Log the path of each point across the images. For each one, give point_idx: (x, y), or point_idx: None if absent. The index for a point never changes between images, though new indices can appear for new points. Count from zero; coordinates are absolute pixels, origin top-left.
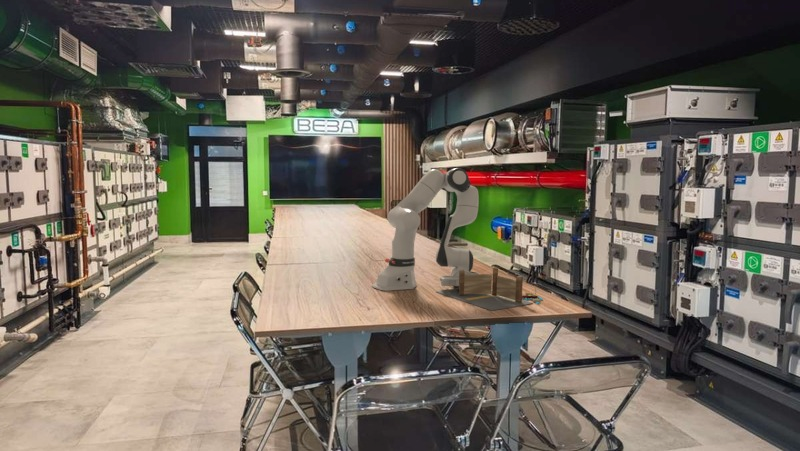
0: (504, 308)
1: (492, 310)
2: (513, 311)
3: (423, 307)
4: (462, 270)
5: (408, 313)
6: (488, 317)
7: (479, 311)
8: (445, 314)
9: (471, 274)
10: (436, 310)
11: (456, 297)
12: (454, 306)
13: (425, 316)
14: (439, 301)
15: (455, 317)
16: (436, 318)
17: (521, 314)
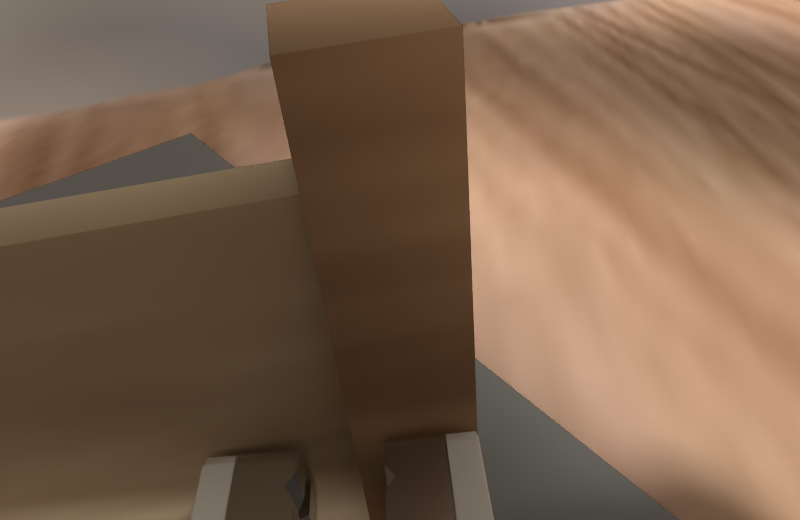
0: (54, 186)
1: (186, 138)
2: (25, 160)
3: (762, 111)
4: (334, 15)
5: (785, 32)
6: (265, 70)
7: None
8: (534, 58)
9: (21, 222)
10: (621, 88)
11: (509, 421)
12: (494, 168)
13: (648, 25)
14: (708, 264)
15: (465, 43)
16: (572, 21)
17: (16, 129)
